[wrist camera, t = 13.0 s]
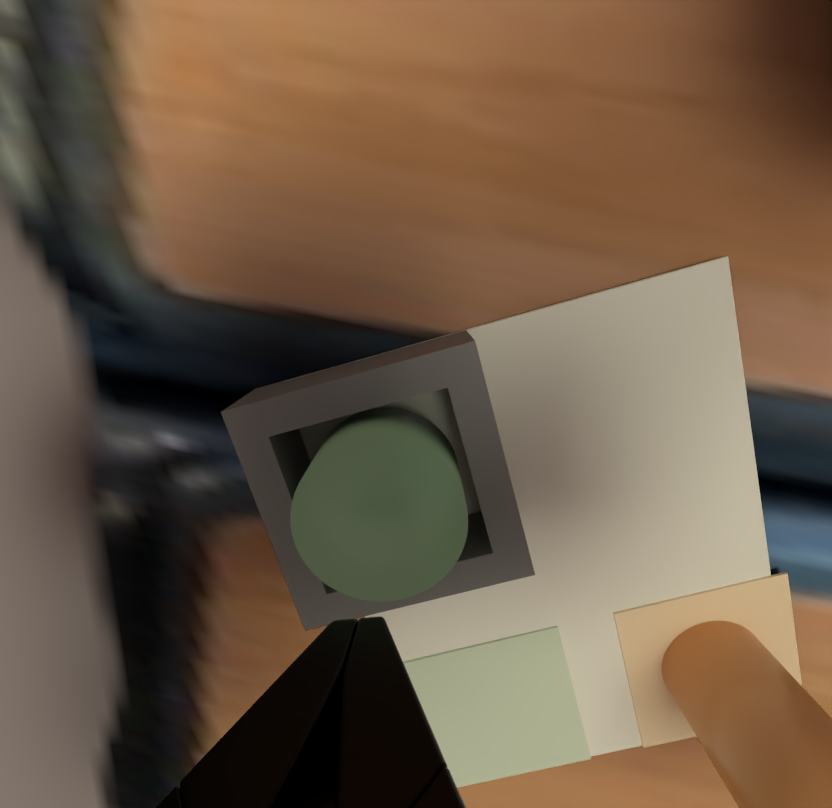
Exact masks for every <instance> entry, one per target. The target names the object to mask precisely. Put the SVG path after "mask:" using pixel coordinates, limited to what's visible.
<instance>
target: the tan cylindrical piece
mask: <svg viewBox="0 0 832 808" xmlns="http://www.w3.org/2000/svg"><path fill="white" fill-rule="evenodd" d="M662 676H663V680H664V682H665V684H666V686H667V688H668V690H669V691H670V693H671V695H672V696H673V698H674V700H675V701H676V703H677V705H678V706H679V708H680V710H681V711H682V713H683V715H684V716H685V718H686V720H687V721H688V723H689V725H690V726H691V728H692V730H693V731H694V733H695V735H696V736H697V738H698V740H699V741H700V743H701V745H702V746H703V748H704V750H705V751H706V753H707V755H708V756H709V758H710V760H711V761H712V763H713V765H714V767H715V768H716V770H717V772H718V773H719V775H720V777H721V778H722V780H723V782H724V783H725V785H726V787H727V788H728V790H729V792H730V793H731V795H732V797H733V798H734V800H735V802H736V803H737V805H738V807H739V808H832V718H831V717H830V716H829V715H828V714H827V713H826V712H825V711H824V710H823V709H822V708H821V706H820V705H819V704H818V703H817V702H816V701H815V700H814V699H813V698H812V697H811V696H810V695H809V694H808V692H807V691H806V690H805V689H804V688H803V687H802V686H801V685H800V684H799V683H798V682H797V681H796V680H795V678H794V677H793V676H792V675H791V674H790V673H789V672H788V671H787V670H786V669H785V668H784V667H783V666H782V664H781V663H780V662H779V661H778V660H777V659H776V658H775V657H774V656H773V655H772V654H771V653H770V651H769V650H768V649H767V648H766V647H765V646H764V645H763V644H762V643H761V642H760V641H759V640H758V639H757V637H756V636H755V635H754V634H753V633H752V632H750V631H749V630H748V629H746V628H745V627H743V626H741V625H738V624H735V623H732V622H726V621H712V622H706V623H702V624H699V625H696V626H694V627H692V628H690V629H688V630H686V631H685V632H683V633H682V634H680V635H679V636H678V637H677V638H676V639H675V640H674V641H673V642H672V643H671V644H670V646H669V647H668V649H667V651H666V653H665V655H664V658H663V662H662Z"/></svg>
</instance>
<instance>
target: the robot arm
mask: <svg viewBox="0 0 832 808" xmlns="http://www.w3.org/2000/svg"><path fill="white" fill-rule="evenodd" d="M179 786H180V788H179V787H175V788H174V789H173V790H172V791H171V792H170V793H169V794H168V795H167V796H166V797H165V798H164V799H163V800H162V801H161V802H160V803H159V804H158V805H157V806H156V808H466V806H465V804H464V802H463V800H462V798H461V796H460V794H459V791H458V789H457V787H456V784H455V782H454V780H453V777H452V775H451V773H450V770H449V769H448V768H447V764H446V762H445V759H444V757H443V755H442V752H441V750H440V748H439V745H438V743H437V741H436V738H435V736H434V734H433V731H432V729H431V727H430V724H429V722H428V720H427V717H426V715H425V713H424V710H423V708H422V705H421V703H420V701H419V698H418V696H417V694H416V691H415V689H414V687H413V684H412V682H411V680H410V677H409V675H408V673H407V670H406V668H405V666H404V663H403V661H402V659H401V656H400V654H399V652H398V649H397V647H396V645H395V642H394V640H393V638H392V635H391V633H390V631H389V628H388V626H387V623H386V621H385V619H384V618H383V617H380V616H379V617H367V618H361V619H360V620H359V621H357V620H356V619H343V620H334V621H333V622H331V623H330V624H329V625H328V626H327V627H326V628H325V629H324V630H323V632H322V633H321V634H320V635H319V636H318V637H317V638H316V639H315V640H314V641H313V642H312V643H311V644H310V645H309V646H308V647H307V648H306V649H305V651H304V652H303V653H302V654H301V655H300V656H299V657H298V658H297V659H296V660H295V661H294V662H293V663H292V664H291V665H290V666H289V667H288V668H287V670H286V671H285V672H284V673H283V674H282V675H281V676H280V677H279V678H278V679H277V680H276V681H275V682H274V683H273V684H272V685H271V686H270V687H269V689H268V690H267V691H266V692H265V693H264V694H263V695H262V696H261V697H260V698H259V699H258V700H257V701H256V702H255V703H254V704H253V705H252V706H251V708H250V709H249V710H248V711H247V712H246V713H245V714H244V715H243V716H242V717H241V718H240V719H239V720H238V721H237V722H236V723H235V724H234V725H233V727H232V728H231V729H230V730H229V731H228V732H227V733H226V734H225V735H224V736H223V737H222V738H221V739H220V740H219V741H218V742H217V743H216V744H215V746H214V747H213V748H212V749H211V750H210V751H209V752H208V753H207V754H206V755H205V756H204V757H203V758H202V759H201V760H200V761H199V762H198V763H197V765H196V766H195V767H194V768H193V769H192V770H191V771H190V772H189V773H188V774H187V775H186V776H185V777H184V778H183V779H182V780H181V782H180V784H179Z"/></svg>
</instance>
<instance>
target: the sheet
mask: <svg viewBox="0 0 832 808" xmlns="http://www.w3.org/2000/svg"><path fill="white" fill-rule="evenodd" d="M382 407H389V408H399V409H404V410H408V411H411V412H414V413H416V414H418V415H420V416H422V417H424V418H426V419H427V420H429V421H430V422H432V423H433V424H434V425H435V426H437V427H438V428H439V429H440V430H441V431H442V433H443V434H444V435H445V436H446V437H447V439H448V440H449V442H450V443H451V445H452V447H453V449H454V452H455V454H456V457H457V461H458V465H459V470H460V475H461V481H462V486H463V491H464V496H465V501H466V506H467V511H468V533H467V538H466V542H465V545H464V548H463V550H462V553H461V555H460V557H459V559H458V560H457V562H456V564H455V565H454V566H453V568H452V569H451V570H450V572H449V573H448V574H447V575H446V576H445V577H444V578H443V579H442V580H440V581H439V582H438V583H437V584H435V585H434V586H432V587H431V588H429V589H427V590H426V591H424V592H422V593H420V594H417V595H415V596H412V597H409V598H405V599H401V600H396V601H385V602H378V601H367V600H361V599H357V598H354V597H350V596H347V595H345V594H343V593H340V592H338V591H336V590H334V589H333V588H331V587H329V586H328V585H326V584H325V583H324V582H322V581H321V580H320V579H319V578H318V577H317V576H316V575H314V574H313V573H312V572H311V570H310V569H309V568H308V567H307V565H306V564H305V563H304V561H303V560H302V558H301V556H300V555H299V553H298V550H297V548H296V546H295V543H294V540H293V536H292V531H291V525H290V512H291V505H292V500H293V497H294V493H295V491H296V489H297V486H298V484H299V482H300V480H301V479H302V477H303V475H304V474H305V472H306V470H307V469H308V467H309V465H310V464H311V462H312V460H313V459H314V457H315V455H316V454H317V452H318V450H319V449H320V447H321V445H322V444H323V442H324V440H325V439H326V437H327V436H328V435H329V433H330V432H331V431H332V430H333V429H334V428H335V427H336V426H337V425H338V424H339V423H341V422H342V421H343V420H345V419H346V418H348V417H350V416H352V415H354V414H356V413H358V412H361V411H365V410H368V409H373V408H382ZM221 414H222V417H223V420H224V422H225V425H226V427H227V430H228V432H229V435H230V438H231V440H232V443H233V445H234V448H235V451H236V453H237V456H238V458H239V461H240V464H241V466H242V469H243V471H244V474H245V476H246V479H247V482H248V484H249V487H250V489H251V492H252V495H253V497H254V500H255V502H256V505H257V508H258V510H259V513H260V515H261V518H262V520H263V523H264V526H265V528H266V531H267V533H268V536H269V539H270V541H271V544H272V546H273V549H274V551H275V554H276V557H277V559H278V562H279V564H280V567H281V570H282V572H283V575H284V577H285V580H286V583H287V585H288V588H289V590H290V593H291V595H292V598H293V601H294V603H295V606H296V608H297V611H298V614H299V616H300V619H301V621H302V624H303V627H304V629H305V631H306V630H310V629H315V628H319V627H323V626H327V625H329V624H330V623H331V622H333V621H334V620H343V619H356V618H360V617H364V616H365V618H367V617H379V616H380V617H383V618H384V619H385V621H386V623H387V626H388V628H389V631H390V633H391V635H392V638H393V640H394V642H395V645H396V647H397V649H398V652H399V654H400V656H401V659H402V661H403V663H404V666H405V668H406V670H407V673H408V675H409V677H410V680H411V682H412V684H413V687H414V689H415V691H416V694H417V696H418V698H419V701H420V703H421V705H422V708H423V710H424V713H425V715H426V717H427V720H428V722H429V724H430V727H431V729H432V731H433V734H434V736H435V738H436V741H437V743H438V745H439V748H440V750H441V752H442V755H443V757H444V759H445V762H446V764H447V768H448V769H449V770H450V773H451V775H452V777H453V780H454V782H455V784H456V787H462V786H467V785H471V784H476V783H481V782H485V781H490V780H495V779H499V778H504V777H509V776H514V775H518V774H523V773H528V772H532V771H537V770H542V769H546V768H551V767H556V766H560V765H565V764H570V763H574V762H579V761H584V760H589V759H591V756H595V755H600V754H605V753H609V752H614V751H619V750H623V749H628V748H633V747H637V746H643V748H645V747H649V746H654V745H659V744H663V743H668V742H673V741H678V740H682V739H687V738H692V737H696V735H695V733H694V731H693V730H692V728H691V726H690V725H689V723H688V721H687V720H686V718H685V716H684V715H683V713H682V711H681V710H680V708H679V706H678V705H677V703H676V701H675V700H674V698H673V696H672V695H671V693H670V691H669V690H668V688H667V686H666V684H665V682H664V680H663V676H662V662H663V658H664V655H665V653H666V651H667V649H668V647H669V646H670V644H671V643H672V642H673V641H674V640H675V639H676V638H677V637H678V636H679V635H680V634H682V633H683V632H685V631H686V630H688V629H690V628H692V627H694V626H696V625H699V624H702V623H706V622H712V621H726V622H732V623H735V624H738V625H741V626H743V627H745V628H746V629H748V630H749V631H750V632H752V633H753V634H754V635H755V636H756V637H757V639H758V640H759V641H760V642H761V643H762V644H763V645H764V646H765V647H766V648H767V649H768V650H769V651H770V653H771V654H772V655H773V656H774V657H775V658H776V659H777V660H778V661H779V662H780V663H781V664H782V666H783V667H784V668H785V669H786V670H787V671H788V672H789V673H790V674H791V675H792V676H793V677H794V678H795V680H796V681H797V682H798V683H799V684H800V685H801V686H802V683H801V675H800V667H799V659H798V651H797V643H796V635H795V627H794V619H793V611H792V604H791V596H790V588H789V580H788V573H787V572H783V573H779V574H774V575H771V572H770V564H769V557H768V549H767V542H766V535H765V527H764V520H763V512H762V505H761V497H760V490H759V483H758V475H757V468H756V460H755V453H754V445H753V438H752V431H751V423H750V416H749V408H748V401H747V393H746V386H745V378H744V371H743V364H742V356H741V349H740V341H739V334H738V326H737V319H736V312H735V304H734V297H733V289H732V282H731V274H730V267H729V260H728V256H726V257H720V258H716V259H713V260H709V261H705V262H702V263H698V264H695V265H691V266H688V267H684V268H681V269H677V270H674V271H670V272H667V273H663V274H659V275H656V276H652V277H649V278H645V279H642V280H638V281H635V282H631V283H628V284H624V285H621V286H617V287H613V288H610V289H606V290H603V291H599V292H596V293H592V294H589V295H585V296H582V297H578V298H574V299H571V300H567V301H564V302H560V303H557V304H553V305H550V306H546V307H543V308H539V309H536V310H532V311H528V312H525V313H521V314H518V315H514V316H511V317H507V318H504V319H500V320H497V321H493V322H490V323H486V324H482V325H479V326H475V327H472V328H468V329H465V330H461V331H458V332H454V333H451V334H447V335H444V336H440V337H436V338H433V339H429V340H426V341H422V342H419V343H415V344H412V345H408V346H405V347H401V348H397V349H394V350H390V351H387V352H383V353H380V354H376V355H373V356H369V357H366V358H362V359H359V360H355V361H351V362H348V363H344V364H341V365H337V366H334V367H330V368H327V369H323V370H320V371H316V372H313V373H309V374H305V375H302V376H298V377H295V378H291V379H288V380H284V381H281V382H277V383H274V384H270V385H266V386H263V387H259V388H256V389H254V390H253V391H251V392H250V393H248V394H247V395H245V396H244V397H242V398H241V399H239V400H238V401H236V402H235V403H233V404H232V405H230V406H229V407H227V408H226V409H224V410H223V411H221Z"/></svg>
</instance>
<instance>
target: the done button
mask: <svg viewBox="0 0 832 808" xmlns="http://www.w3.org/2000/svg"><path fill="white" fill-rule="evenodd" d="M290 525H291V531H292V536H293V540H294V543H295V546H296V548H297V550H298V553H299V555H300V556H301V558H302V560H303V561H304V563H305V564H306V565H307V567H308V568H309V569H310V570H311V572H312V573H313V574H314V575H316V576H317V577H318V578H319V579H320V580H321V581H322V582H324V583H325V584H326V585H328V586H329V587H331V588H333V589H334V590H336V591H338V592H340V593H343V594H345V595H347V596H350V597H354V598H357V599H361V600H367V601H378V602H385V601H396V600H401V599H405V598H409V597H412V596H415V595H417V594H420V593H422V592H424V591H426V590H427V589H429V588H431V587H432V586H434V585H435V584H437V583H438V582H439V581H440V580H442V579H443V578H444V577H445V576H446V575H447V574H448V573H449V572H450V570H451V569H452V568H453V566H454V565H455V564H456V562H457V560H458V559H459V557H460V555H461V553H462V550H463V548H464V545H465V542H466V538H467V533H468V511H467V506H466V501H465V496H464V491H463V486H462V481H461V475H460V470H459V465H458V461H457V457H456V454H455V452H454V449H453V447H452V445H451V443H450V442H449V440H448V439H447V437H446V436H445V435H444V434H443V433H442V431H441V430H440V429H439V428H438V427H437V426H435V425H434V424H433V423H432V422H430V421H429V420H427V419H426V418H424V417H422V416H420V415H418V414H416V413H414V412H411V411H408V410H404V409H399V408H389V407H382V408H373V409H368V410H365V411H361V412H358V413H356V414H354V415H352V416H350V417H348V418H346V419H345V420H343V421H342V422H341V423H339V424H338V425H337V426H336V427H335V428H334V429H333V430H332V431H331V432H330V433H329V435H328V436H327V437H326V439H325V440H324V442H323V444H322V445H321V447H320V449H319V450H318V452H317V454H316V455H315V457H314V459H313V460H312V462H311V464H310V465H309V467H308V469H307V470H306V472H305V474H304V475H303V477H302V479H301V480H300V482H299V484H298V486H297V489H296V491H295V493H294V497H293V500H292V505H291V512H290Z"/></svg>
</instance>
